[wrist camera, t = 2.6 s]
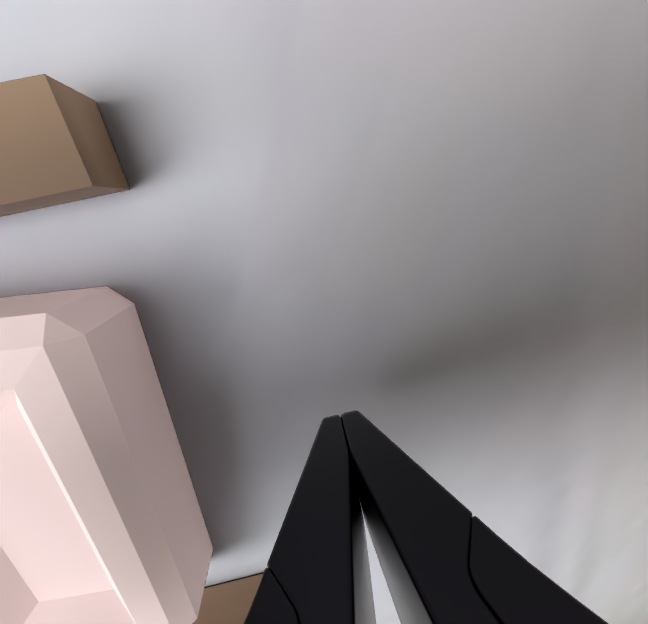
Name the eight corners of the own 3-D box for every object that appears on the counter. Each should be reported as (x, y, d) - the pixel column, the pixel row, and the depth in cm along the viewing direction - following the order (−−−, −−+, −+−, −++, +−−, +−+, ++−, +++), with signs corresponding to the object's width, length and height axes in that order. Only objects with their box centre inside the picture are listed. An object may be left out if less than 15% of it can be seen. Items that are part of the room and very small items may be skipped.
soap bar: (48, 574, 10) (-27, 687, 7) (-120, 306, 7) (-339, 362, 4) (218, 546, 10) (196, 647, 8) (135, 280, 7) (59, 317, 5)
